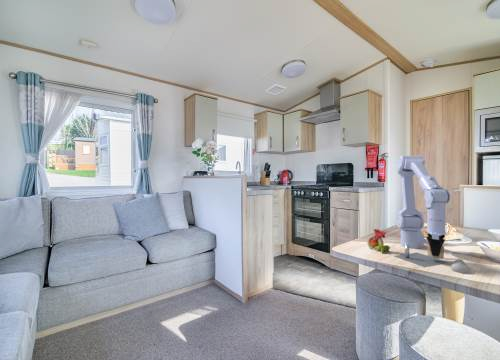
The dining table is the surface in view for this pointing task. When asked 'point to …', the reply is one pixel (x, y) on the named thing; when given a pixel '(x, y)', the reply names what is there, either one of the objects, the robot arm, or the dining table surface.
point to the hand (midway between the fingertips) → (435, 253)
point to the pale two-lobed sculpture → (459, 266)
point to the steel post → (406, 250)
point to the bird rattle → (374, 242)
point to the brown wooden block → (436, 256)
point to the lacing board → (421, 259)
